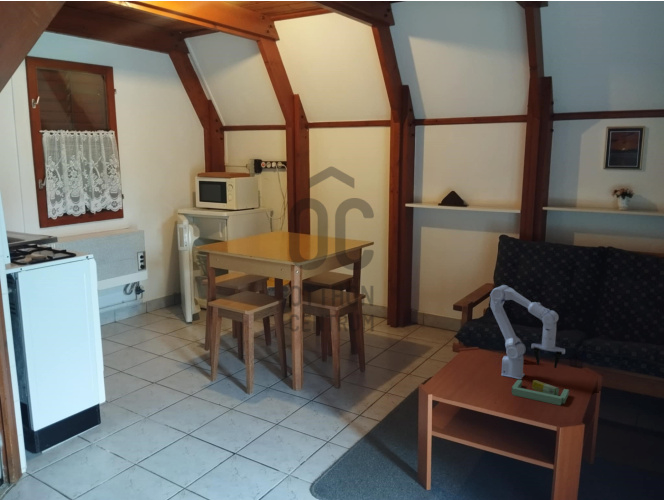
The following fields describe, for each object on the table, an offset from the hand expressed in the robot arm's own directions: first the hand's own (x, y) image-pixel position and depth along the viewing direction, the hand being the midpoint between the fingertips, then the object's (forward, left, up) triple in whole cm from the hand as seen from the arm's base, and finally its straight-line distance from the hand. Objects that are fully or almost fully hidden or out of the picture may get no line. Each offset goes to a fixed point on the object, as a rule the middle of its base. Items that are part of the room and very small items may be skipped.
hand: (546, 365), depth 256 cm
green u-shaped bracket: (0, -16, -8) cm, 18 cm away
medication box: (+2, -12, -9) cm, 15 cm away
